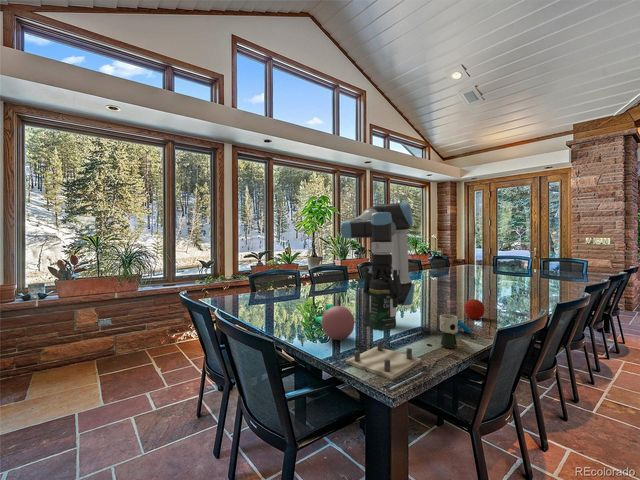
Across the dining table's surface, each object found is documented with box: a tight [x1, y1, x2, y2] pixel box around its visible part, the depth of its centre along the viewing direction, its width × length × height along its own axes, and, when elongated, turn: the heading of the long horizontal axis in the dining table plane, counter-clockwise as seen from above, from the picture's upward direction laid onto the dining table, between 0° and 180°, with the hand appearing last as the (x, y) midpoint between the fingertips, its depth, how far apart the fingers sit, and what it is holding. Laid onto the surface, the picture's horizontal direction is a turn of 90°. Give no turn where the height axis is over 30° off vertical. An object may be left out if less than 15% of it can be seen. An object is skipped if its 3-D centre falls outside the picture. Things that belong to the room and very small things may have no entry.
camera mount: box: [315, 303, 335, 325], centre depth 174 cm, size 12×8×10 cm, turn 37°
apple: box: [464, 297, 485, 320], centre depth 178 cm, size 10×10×12 cm
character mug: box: [439, 313, 459, 349], centre depth 134 cm, size 11×7×13 cm, turn 126°
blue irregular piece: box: [455, 318, 472, 335], centre depth 152 cm, size 11×6×10 cm
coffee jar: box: [368, 278, 397, 332], centre depth 118 cm, size 10×8×19 cm
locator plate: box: [345, 340, 422, 380], centre depth 118 cm, size 20×20×5 cm
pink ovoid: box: [320, 305, 355, 341], centre depth 148 cm, size 15×20×15 cm
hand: (382, 314), depth 118 cm, fingers closed on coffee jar, 8 cm apart
